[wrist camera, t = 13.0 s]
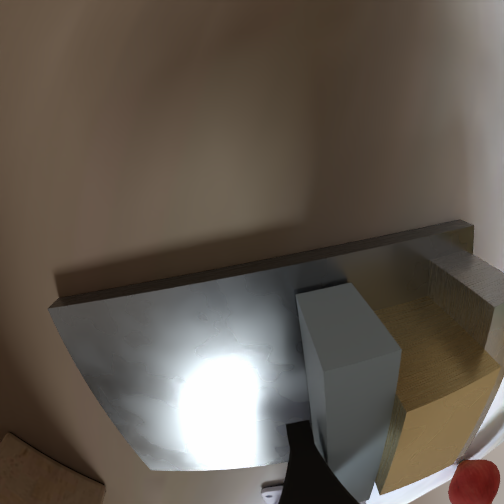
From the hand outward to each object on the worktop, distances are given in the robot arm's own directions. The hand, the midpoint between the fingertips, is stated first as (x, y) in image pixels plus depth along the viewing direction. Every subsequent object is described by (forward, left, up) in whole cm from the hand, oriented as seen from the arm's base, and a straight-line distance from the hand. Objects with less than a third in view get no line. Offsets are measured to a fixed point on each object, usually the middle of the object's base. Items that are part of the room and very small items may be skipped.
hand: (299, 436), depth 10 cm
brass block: (0, -5, -2) cm, 5 cm away
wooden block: (-12, +23, -4) cm, 26 cm away
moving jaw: (0, -2, -2) cm, 3 cm away
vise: (0, 0, -3) cm, 3 cm away
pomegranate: (-21, -17, -4) cm, 27 cm away
